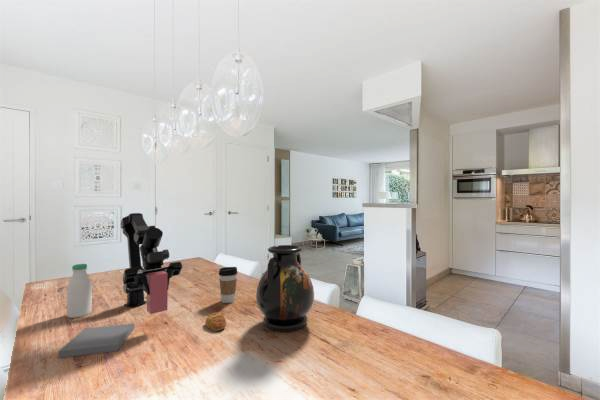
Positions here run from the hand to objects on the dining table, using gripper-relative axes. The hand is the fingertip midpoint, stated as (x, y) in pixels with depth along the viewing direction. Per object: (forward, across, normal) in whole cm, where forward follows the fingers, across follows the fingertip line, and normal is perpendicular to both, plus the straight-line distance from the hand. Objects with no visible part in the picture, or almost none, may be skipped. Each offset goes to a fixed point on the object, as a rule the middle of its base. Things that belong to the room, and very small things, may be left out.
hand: (158, 292), depth 96 cm
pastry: (+16, +17, +3) cm, 24 cm away
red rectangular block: (+4, 0, +6) cm, 7 cm away
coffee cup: (+2, +32, +18) cm, 37 cm away
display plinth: (+6, -16, +13) cm, 21 cm away
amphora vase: (+27, +37, -8) cm, 47 cm away
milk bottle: (-17, -20, +36) cm, 44 cm away
